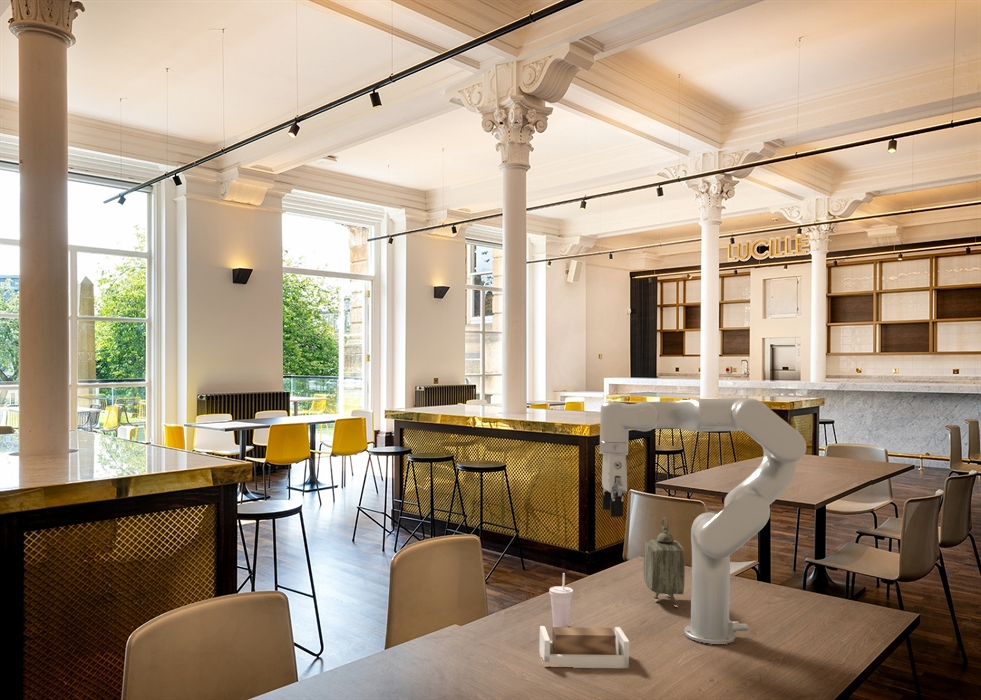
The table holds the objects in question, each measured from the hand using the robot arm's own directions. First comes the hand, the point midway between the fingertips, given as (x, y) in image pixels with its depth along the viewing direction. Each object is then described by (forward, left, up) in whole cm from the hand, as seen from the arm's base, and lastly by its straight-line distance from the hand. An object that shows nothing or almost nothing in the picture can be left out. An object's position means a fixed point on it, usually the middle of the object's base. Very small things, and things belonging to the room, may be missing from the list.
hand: (612, 513), depth 187 cm
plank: (+11, +21, -28) cm, 37 cm away
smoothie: (+13, -1, -31) cm, 33 cm away
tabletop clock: (-21, -23, -31) cm, 44 cm away
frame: (+11, +21, -30) cm, 38 cm away
